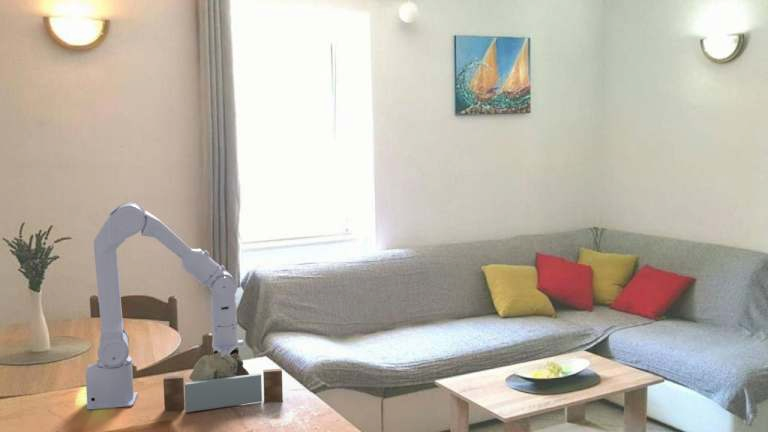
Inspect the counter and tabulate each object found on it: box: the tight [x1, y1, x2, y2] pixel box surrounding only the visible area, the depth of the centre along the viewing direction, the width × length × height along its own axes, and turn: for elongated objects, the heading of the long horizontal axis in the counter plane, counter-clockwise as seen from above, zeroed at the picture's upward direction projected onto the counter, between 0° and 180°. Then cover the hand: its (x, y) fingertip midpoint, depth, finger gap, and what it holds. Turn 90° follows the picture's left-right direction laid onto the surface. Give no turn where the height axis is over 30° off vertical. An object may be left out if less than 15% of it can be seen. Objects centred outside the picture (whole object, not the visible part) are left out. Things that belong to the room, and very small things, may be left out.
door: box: [184, 372, 263, 413], centre depth 154 cm, size 16×1×6 cm, turn 111°
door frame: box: [162, 368, 284, 412], centre depth 156 cm, size 25×2×7 cm, turn 101°
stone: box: [188, 352, 250, 382], centre depth 160 cm, size 11×14×10 cm
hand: (227, 380), depth 166 cm, fingers closed, pressing on stone
